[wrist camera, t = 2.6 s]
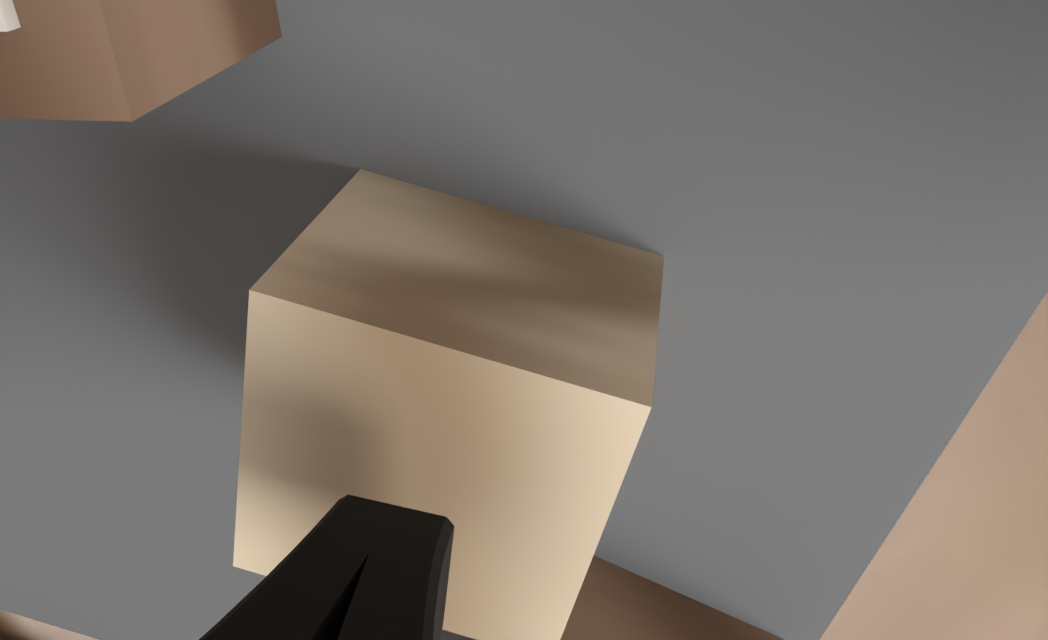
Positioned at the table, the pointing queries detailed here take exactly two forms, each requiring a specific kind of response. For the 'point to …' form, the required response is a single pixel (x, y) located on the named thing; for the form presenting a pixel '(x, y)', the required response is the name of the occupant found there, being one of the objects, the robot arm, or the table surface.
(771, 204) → the slate mat
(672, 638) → the walnut block
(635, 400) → the plain block
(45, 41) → the walnut block
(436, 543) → the robot arm
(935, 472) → the table surface
